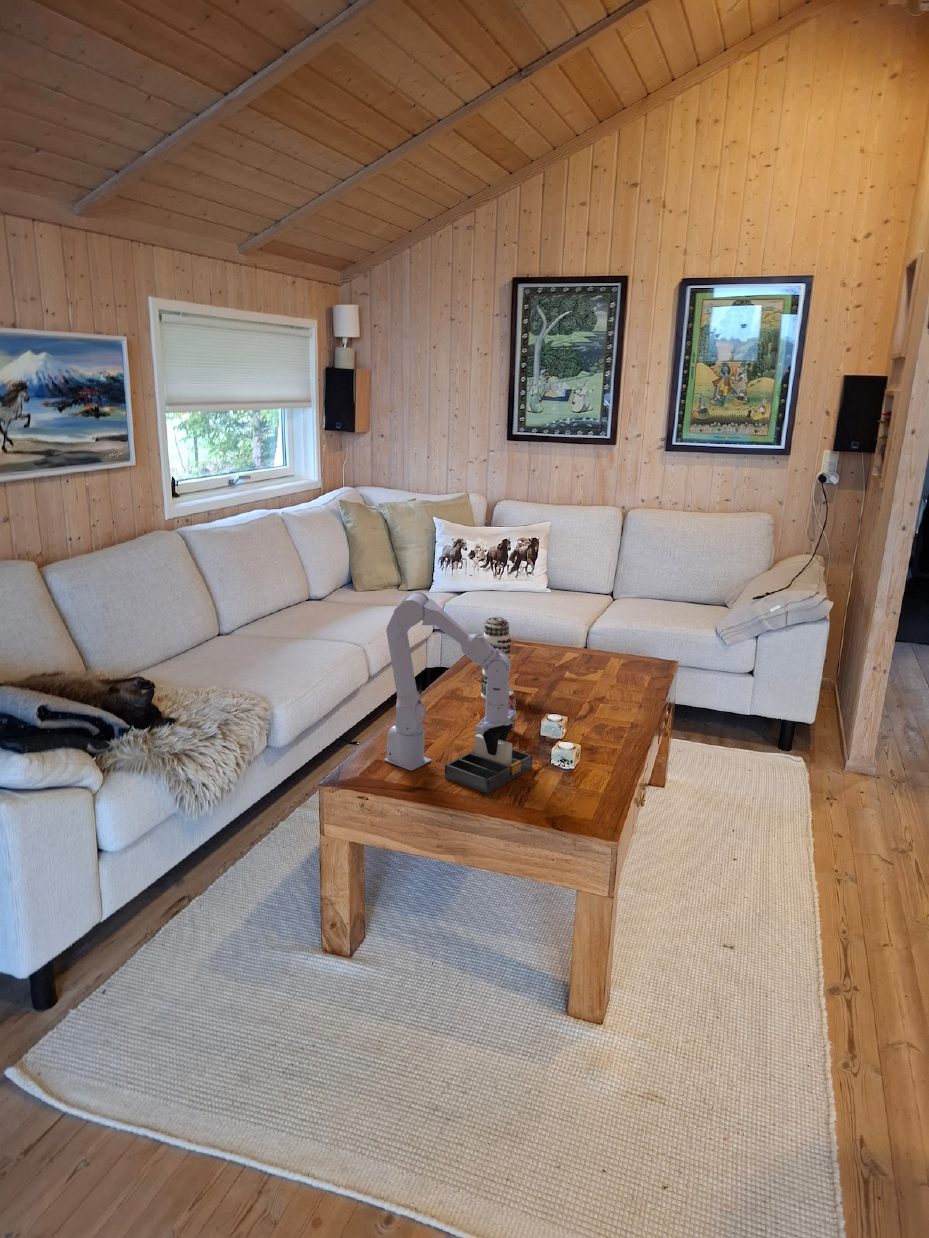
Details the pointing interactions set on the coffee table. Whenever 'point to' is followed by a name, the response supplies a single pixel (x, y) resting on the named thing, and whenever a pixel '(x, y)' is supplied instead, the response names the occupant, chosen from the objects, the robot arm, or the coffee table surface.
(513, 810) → the coffee table surface
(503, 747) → the panel
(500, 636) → the decorative candle
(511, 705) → the soda can
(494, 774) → the rack
